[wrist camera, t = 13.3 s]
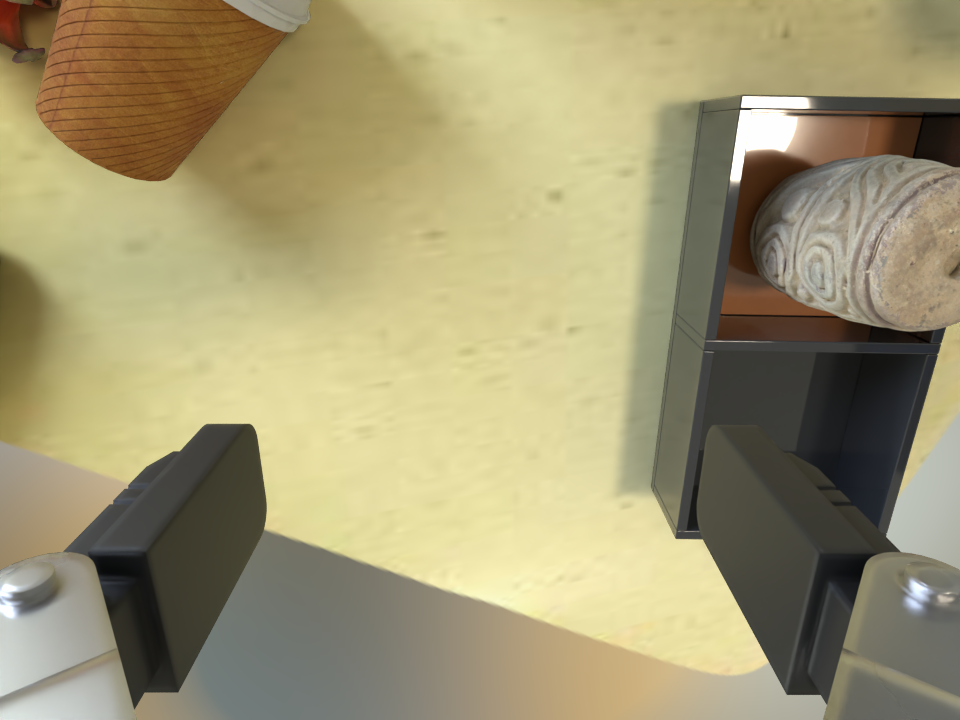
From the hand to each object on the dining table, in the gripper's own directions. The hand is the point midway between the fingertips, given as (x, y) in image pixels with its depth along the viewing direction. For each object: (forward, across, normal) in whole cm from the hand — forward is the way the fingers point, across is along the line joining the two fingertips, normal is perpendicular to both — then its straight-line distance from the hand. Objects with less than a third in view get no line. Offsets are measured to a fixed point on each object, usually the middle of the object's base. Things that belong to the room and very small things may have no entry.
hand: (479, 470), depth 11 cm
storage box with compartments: (+26, -18, +5) cm, 32 cm away
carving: (+26, -18, -1) cm, 31 cm away
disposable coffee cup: (+23, +19, -5) cm, 30 cm away
